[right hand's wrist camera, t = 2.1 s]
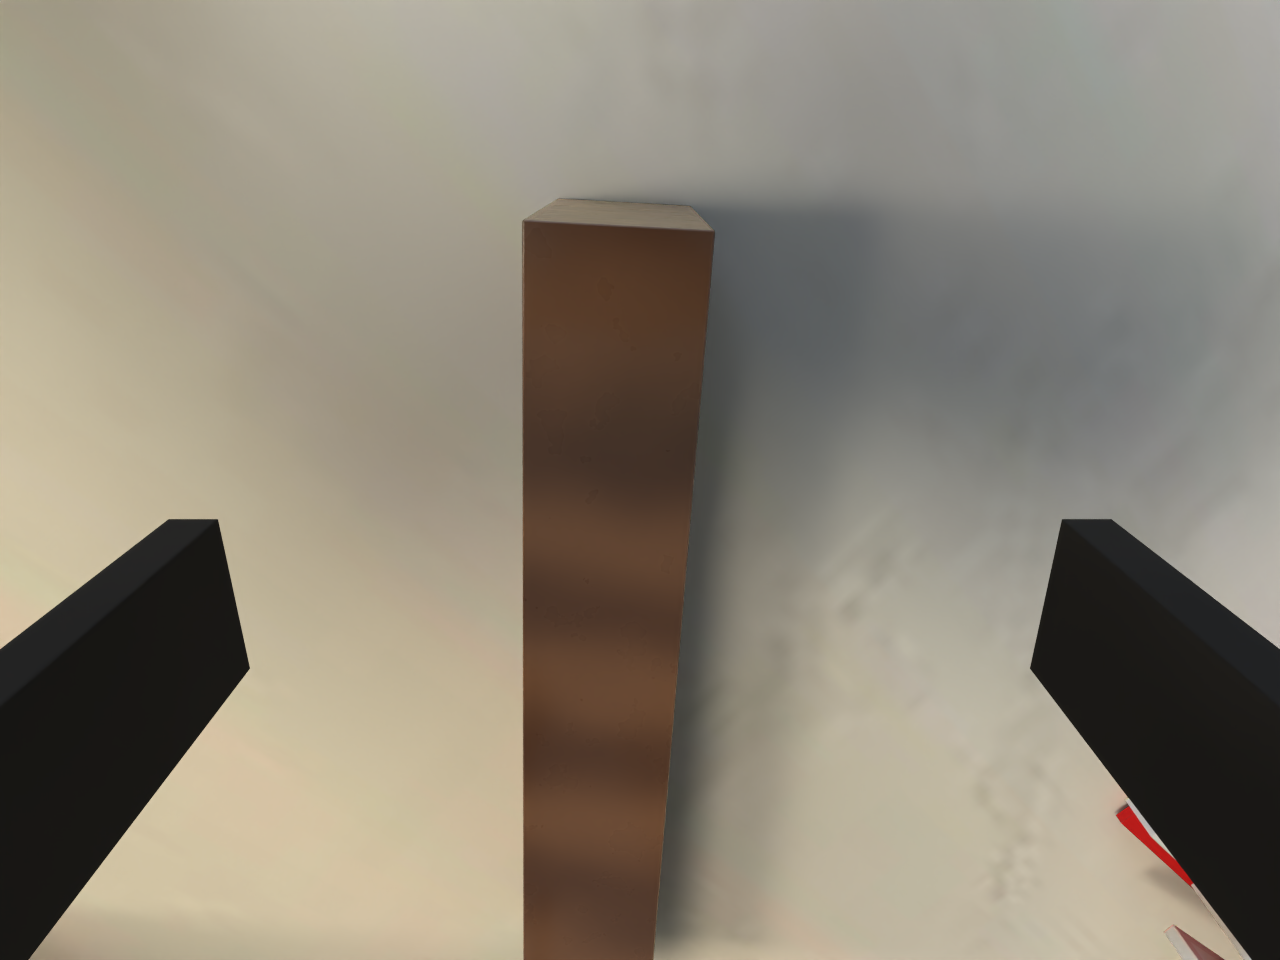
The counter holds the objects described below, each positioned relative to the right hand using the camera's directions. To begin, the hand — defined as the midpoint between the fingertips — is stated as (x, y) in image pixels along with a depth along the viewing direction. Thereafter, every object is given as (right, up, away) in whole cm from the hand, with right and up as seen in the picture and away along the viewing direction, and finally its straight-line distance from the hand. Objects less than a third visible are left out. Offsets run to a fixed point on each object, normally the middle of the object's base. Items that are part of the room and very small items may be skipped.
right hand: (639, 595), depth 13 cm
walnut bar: (-1, -5, +21) cm, 21 cm away
